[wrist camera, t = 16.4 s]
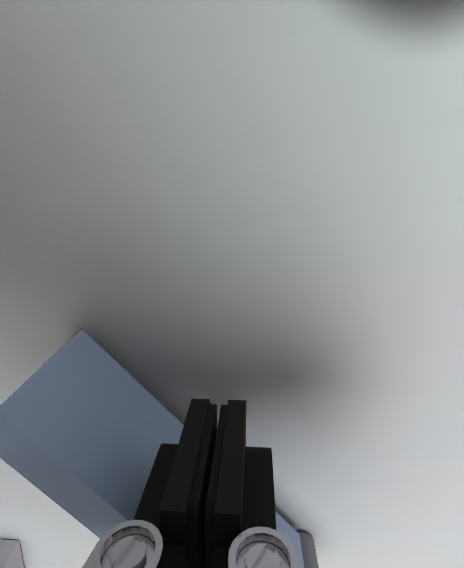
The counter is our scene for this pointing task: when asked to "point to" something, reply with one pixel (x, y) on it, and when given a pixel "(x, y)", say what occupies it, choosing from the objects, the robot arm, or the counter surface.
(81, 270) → the counter surface
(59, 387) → the cover
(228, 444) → the robot arm
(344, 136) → the counter surface
